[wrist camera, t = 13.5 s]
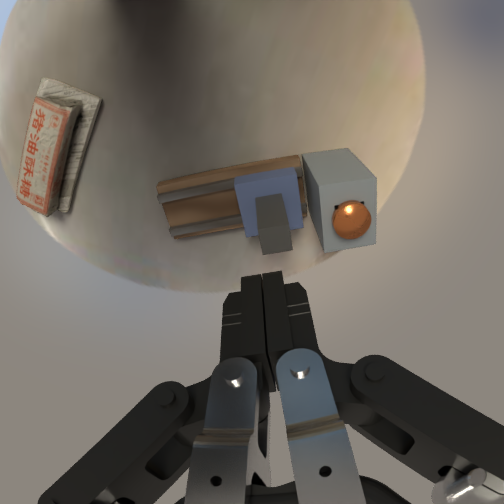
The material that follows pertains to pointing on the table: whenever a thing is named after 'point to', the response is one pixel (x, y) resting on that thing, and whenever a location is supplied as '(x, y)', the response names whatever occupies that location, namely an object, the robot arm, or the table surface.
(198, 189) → the rail bed
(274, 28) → the table surface
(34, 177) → the packaged product
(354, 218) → the orange push button
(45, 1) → the table surface
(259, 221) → the carriage
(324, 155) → the end cabinet
